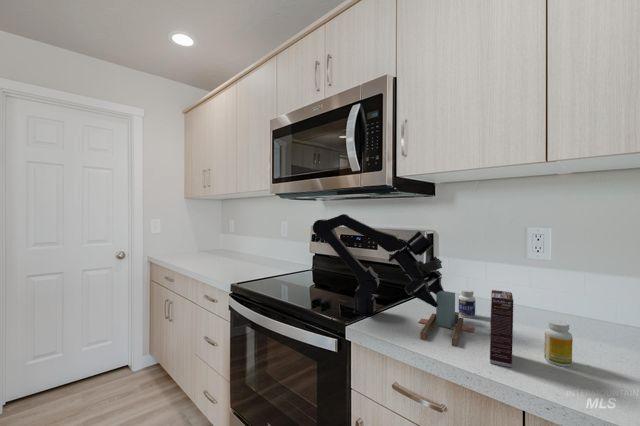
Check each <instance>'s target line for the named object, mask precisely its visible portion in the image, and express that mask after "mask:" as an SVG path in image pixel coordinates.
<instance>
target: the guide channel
mask: <svg viewBox="0 0 640 426" xmlns="http://www.w3.org/2000/svg"><path fill="white" fill-rule="evenodd" d="M418 324H423V325H424V326H423V328H422V329H421V331H420V338H419V339H420V340H422V341H425V340H426V339H427V337H428V336H429V333H430V332H431V330H432V328H433V326H434V327H439V328H445V329H448V328H447V327H443V326H439V325H436V313H433V312H432V314H431V315H430V316H429V318H428V319H427V318H420V319H419V320H418ZM449 329H451V330H454V331H453V334H452V336H451V347H452V346H453V347H457V346H458V342H459V340H460V336H461V333H462V332H467V333H468V332H469V333H474V331H475V327H474V326H469V325H464V317H460V315H459V313H458V311H455V325H454V326H453V327H451V328H449Z"/></svg>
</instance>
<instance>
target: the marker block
mask: <svg viewBox="0 0 640 426" xmlns="http://www.w3.org/2000/svg"><path fill="white" fill-rule="evenodd" d="M435 296H436V297H435V298H436V299H435V301H436V302H437V304H438V306H437V307H435V308H436V309H435V314H436V325H439V326H443V327H442V328H444V327H447V328H446V329H450V328H451V327H453V326H454V325H455V312H456V292H451V291H446V290H444V291H440V292H438V293H436V294H435Z"/></svg>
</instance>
